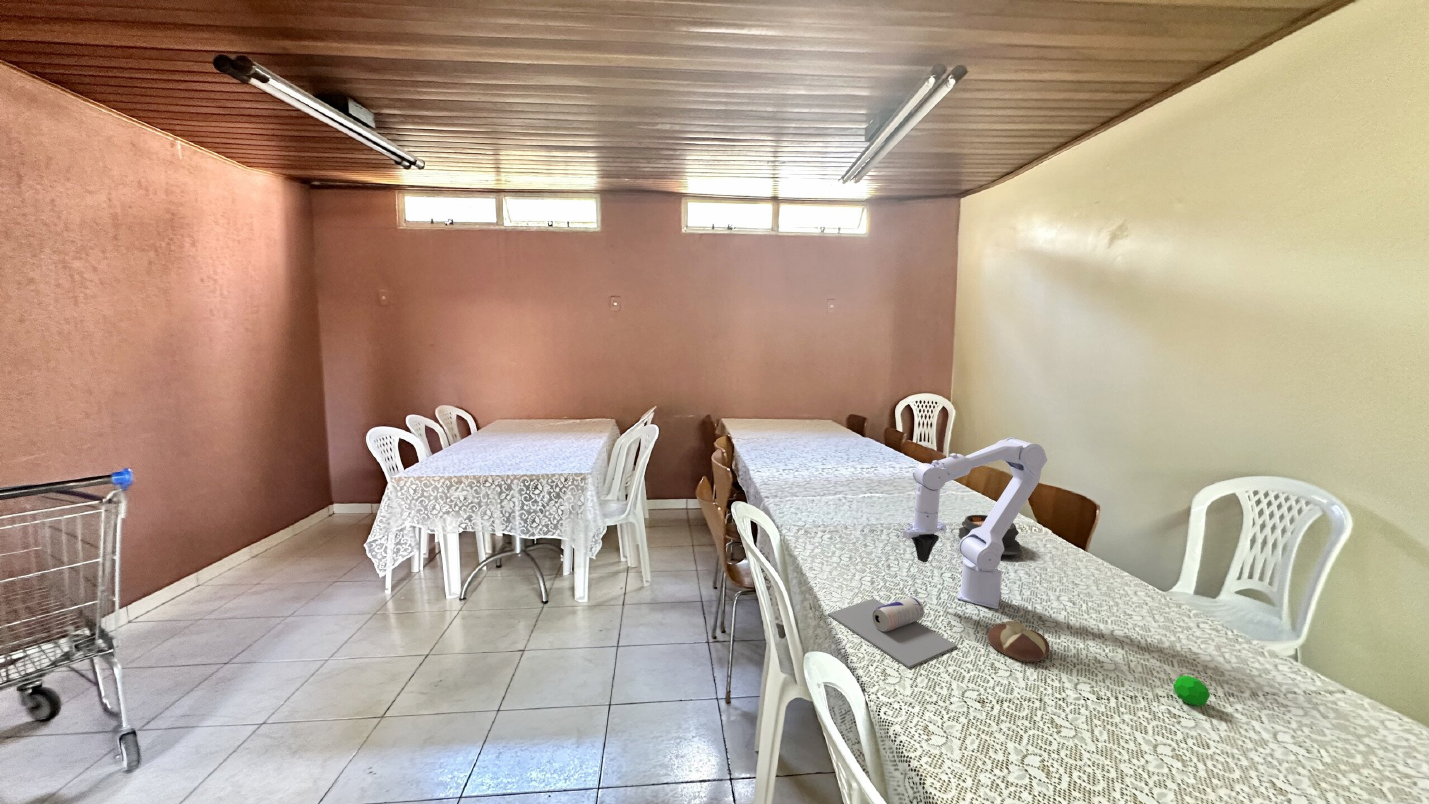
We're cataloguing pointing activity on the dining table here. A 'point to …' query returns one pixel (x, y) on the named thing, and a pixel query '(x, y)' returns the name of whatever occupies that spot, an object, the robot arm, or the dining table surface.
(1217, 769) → the dining table surface
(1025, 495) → the robot arm
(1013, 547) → the casserole
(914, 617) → the energy drink
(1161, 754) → the dining table surface
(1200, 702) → the polyhedron
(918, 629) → the mat
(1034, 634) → the bread
